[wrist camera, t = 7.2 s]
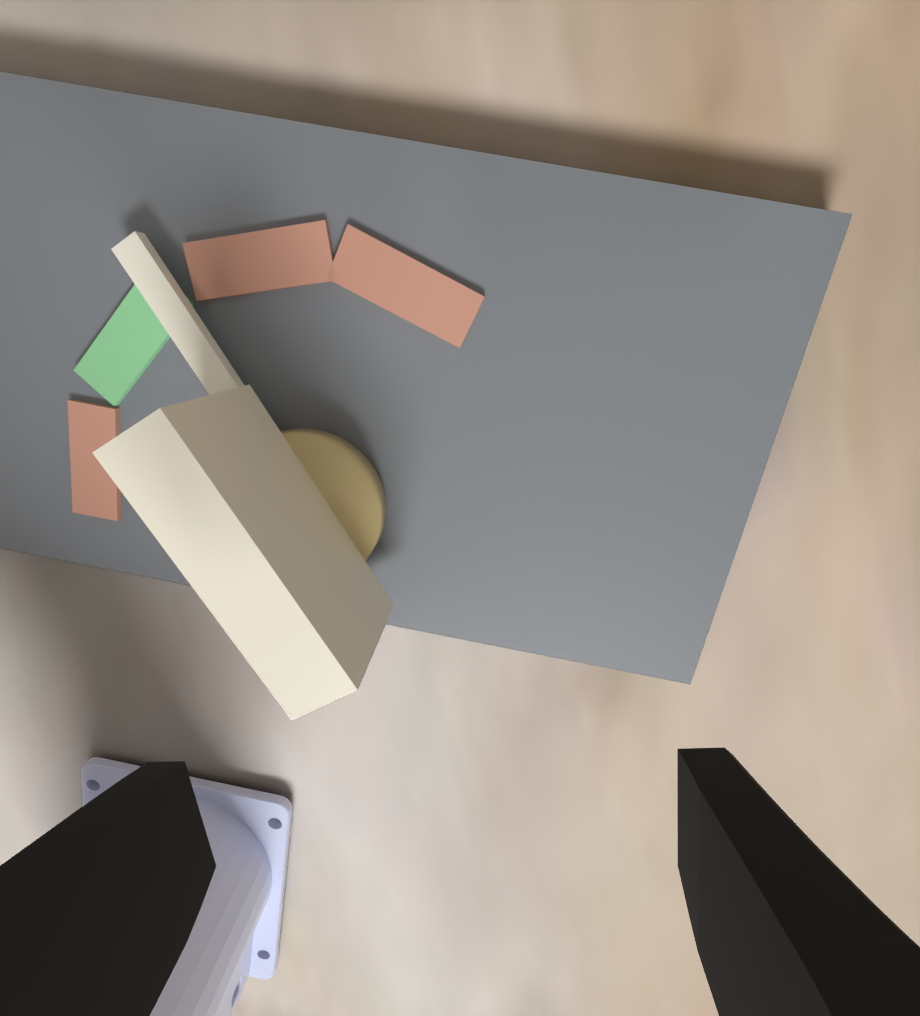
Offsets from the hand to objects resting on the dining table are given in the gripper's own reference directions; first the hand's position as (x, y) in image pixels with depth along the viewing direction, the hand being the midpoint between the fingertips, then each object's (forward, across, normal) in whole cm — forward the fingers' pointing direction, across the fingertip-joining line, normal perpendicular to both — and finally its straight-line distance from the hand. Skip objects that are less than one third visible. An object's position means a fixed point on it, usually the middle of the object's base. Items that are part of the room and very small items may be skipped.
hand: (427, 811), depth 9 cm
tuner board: (+10, +4, -5) cm, 12 cm away
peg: (+9, +5, -4) cm, 11 cm away
